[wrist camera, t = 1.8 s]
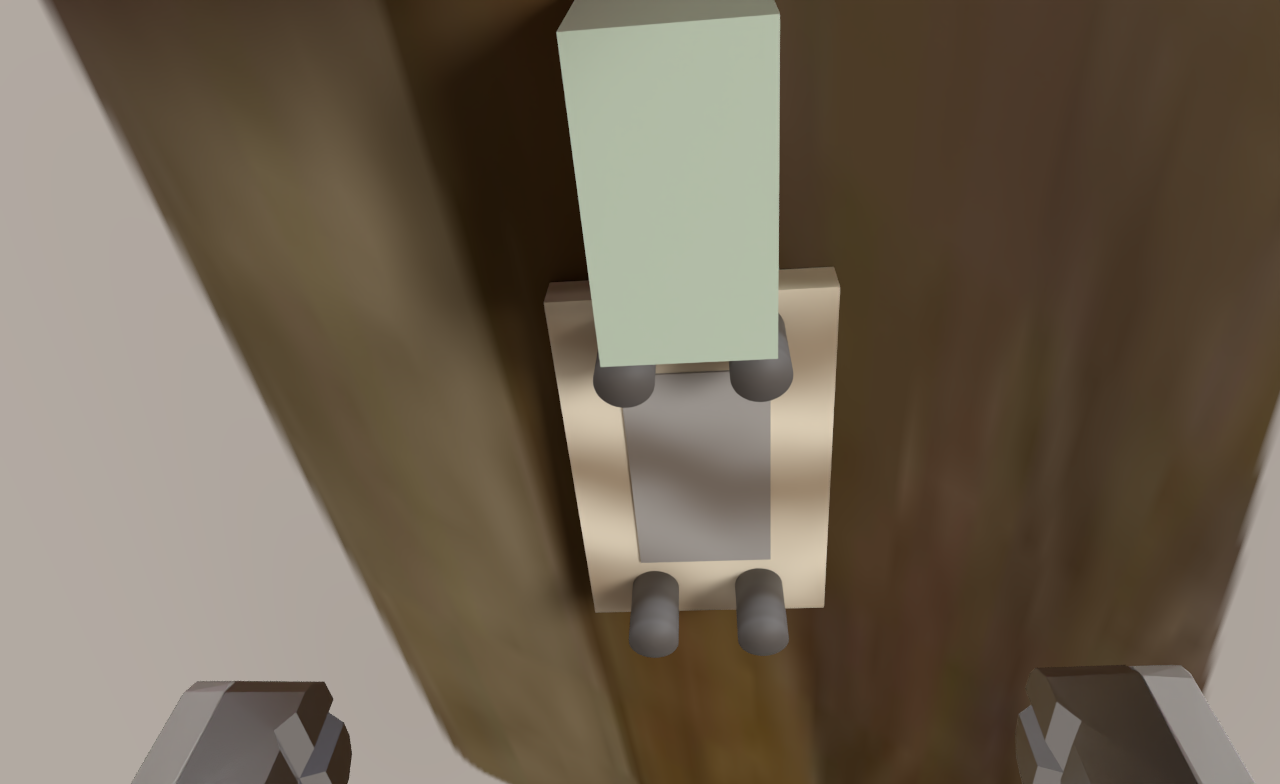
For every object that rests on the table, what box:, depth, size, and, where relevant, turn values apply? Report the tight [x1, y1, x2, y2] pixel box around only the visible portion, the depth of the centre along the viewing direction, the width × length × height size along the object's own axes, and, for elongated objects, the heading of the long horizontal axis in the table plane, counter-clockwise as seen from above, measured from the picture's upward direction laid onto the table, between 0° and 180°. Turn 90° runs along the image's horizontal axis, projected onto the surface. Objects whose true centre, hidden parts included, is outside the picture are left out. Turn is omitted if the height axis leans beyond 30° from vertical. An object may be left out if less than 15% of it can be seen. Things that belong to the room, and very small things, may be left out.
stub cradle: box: [544, 267, 840, 658], centre depth 33 cm, size 16×10×4 cm, turn 5°
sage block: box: [556, 0, 780, 367], centre depth 25 cm, size 9×5×7 cm, turn 5°
